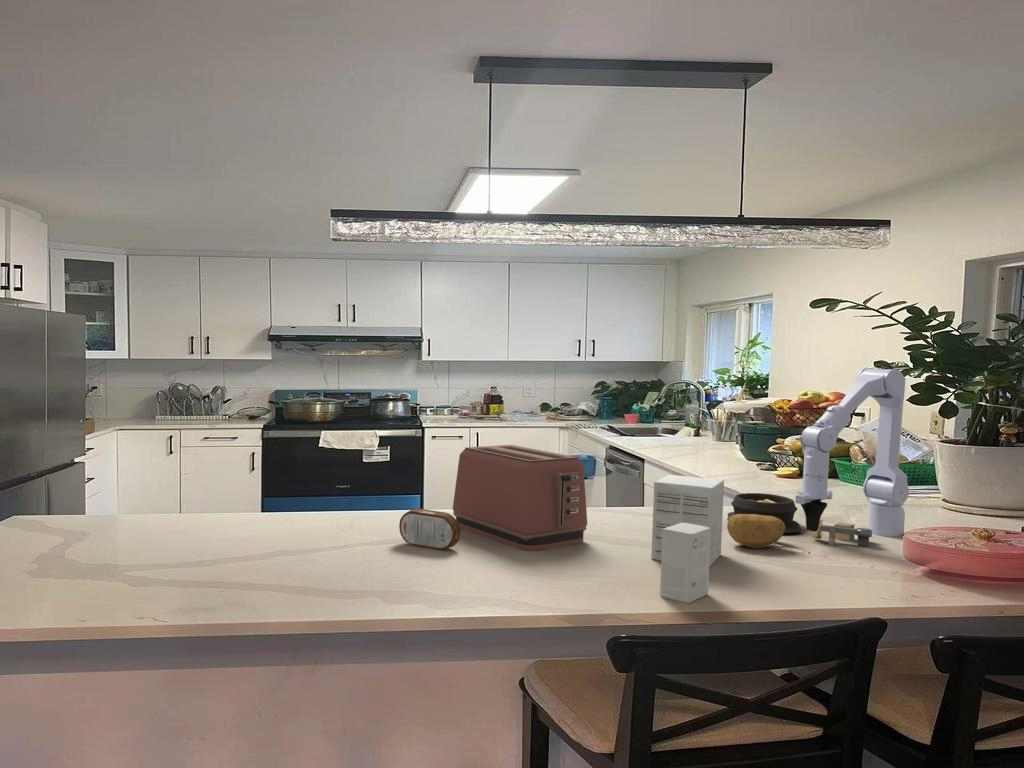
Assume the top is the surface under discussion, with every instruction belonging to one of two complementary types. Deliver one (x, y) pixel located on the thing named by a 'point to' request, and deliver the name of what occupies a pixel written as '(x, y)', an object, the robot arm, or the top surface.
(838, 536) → the nut block
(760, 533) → the potato
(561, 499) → the toaster
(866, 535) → the lever
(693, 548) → the small box
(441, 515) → the tin
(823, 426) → the robot arm
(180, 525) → the top surface
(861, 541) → the press base
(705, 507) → the supplement box
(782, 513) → the casserole
